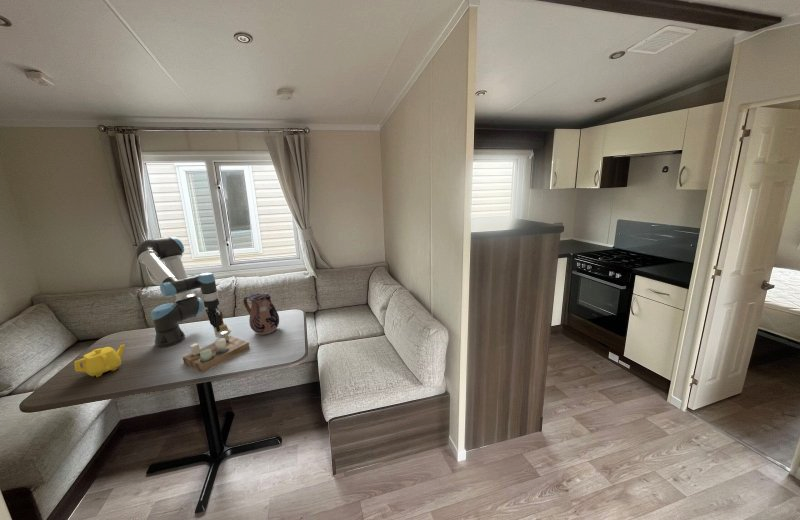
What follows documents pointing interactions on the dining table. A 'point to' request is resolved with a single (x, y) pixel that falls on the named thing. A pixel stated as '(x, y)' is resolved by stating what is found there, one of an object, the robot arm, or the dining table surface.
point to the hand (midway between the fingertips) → (218, 336)
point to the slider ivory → (195, 349)
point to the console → (216, 354)
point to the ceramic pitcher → (262, 313)
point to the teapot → (100, 361)
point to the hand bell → (224, 325)
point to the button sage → (206, 354)
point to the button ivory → (220, 343)
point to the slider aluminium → (224, 335)
